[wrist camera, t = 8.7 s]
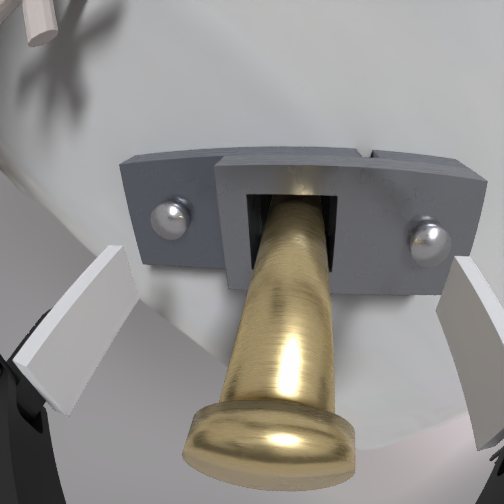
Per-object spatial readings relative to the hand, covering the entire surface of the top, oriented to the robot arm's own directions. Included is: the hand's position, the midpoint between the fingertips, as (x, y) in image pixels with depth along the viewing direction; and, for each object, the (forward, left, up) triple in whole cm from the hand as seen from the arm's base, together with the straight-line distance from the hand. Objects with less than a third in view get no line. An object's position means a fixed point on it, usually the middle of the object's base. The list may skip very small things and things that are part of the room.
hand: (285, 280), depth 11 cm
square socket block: (0, 0, -8) cm, 8 cm away
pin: (0, 0, -8) cm, 8 cm away
